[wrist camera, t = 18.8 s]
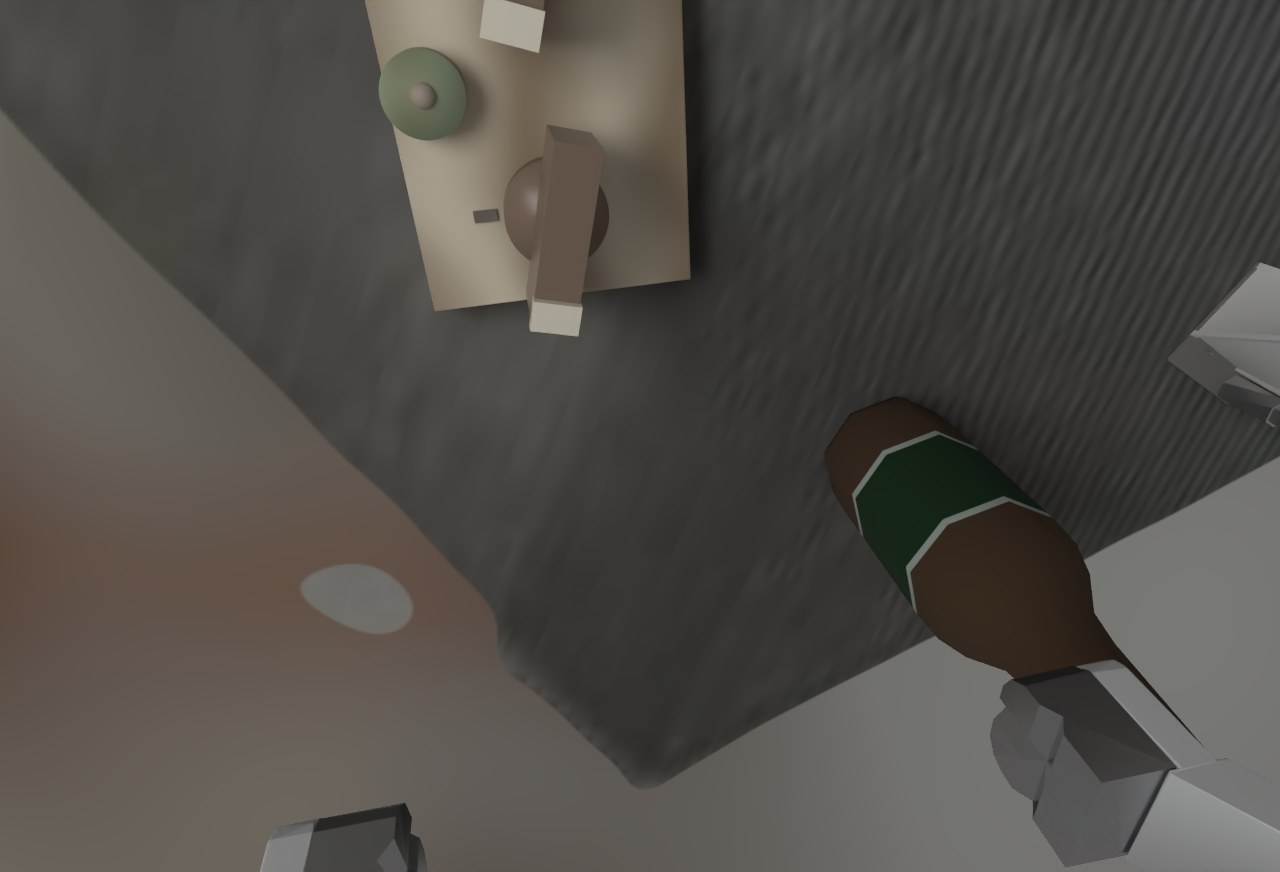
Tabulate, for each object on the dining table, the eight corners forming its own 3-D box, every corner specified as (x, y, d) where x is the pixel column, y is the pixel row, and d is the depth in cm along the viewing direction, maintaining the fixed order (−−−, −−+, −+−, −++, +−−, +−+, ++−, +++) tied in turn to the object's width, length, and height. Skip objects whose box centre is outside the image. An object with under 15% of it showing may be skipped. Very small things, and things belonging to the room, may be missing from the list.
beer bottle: (833, 393, 42) (1156, 760, 22) (955, 390, 44) (1364, 732, 23) (808, 504, 46) (1063, 902, 26) (921, 498, 47) (1246, 870, 27)
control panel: (663, -205, 27) (685, -230, 24) (681, 266, 37) (698, 290, 34) (327, -189, 26) (306, -215, 23) (435, 296, 35) (430, 324, 32)
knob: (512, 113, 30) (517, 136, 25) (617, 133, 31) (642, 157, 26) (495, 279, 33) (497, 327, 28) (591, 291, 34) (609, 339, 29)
